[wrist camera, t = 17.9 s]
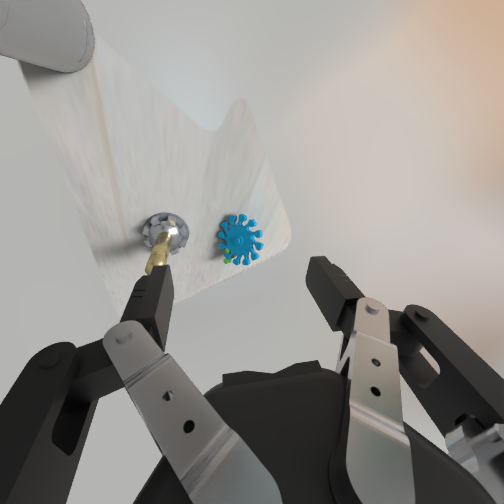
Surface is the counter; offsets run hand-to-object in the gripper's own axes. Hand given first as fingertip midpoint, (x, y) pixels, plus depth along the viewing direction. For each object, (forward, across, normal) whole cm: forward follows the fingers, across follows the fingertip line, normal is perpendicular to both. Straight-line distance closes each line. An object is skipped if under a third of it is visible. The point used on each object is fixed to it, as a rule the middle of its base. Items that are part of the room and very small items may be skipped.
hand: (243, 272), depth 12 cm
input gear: (+30, +10, +12) cm, 34 cm away
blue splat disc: (+30, -3, +13) cm, 33 cm away
